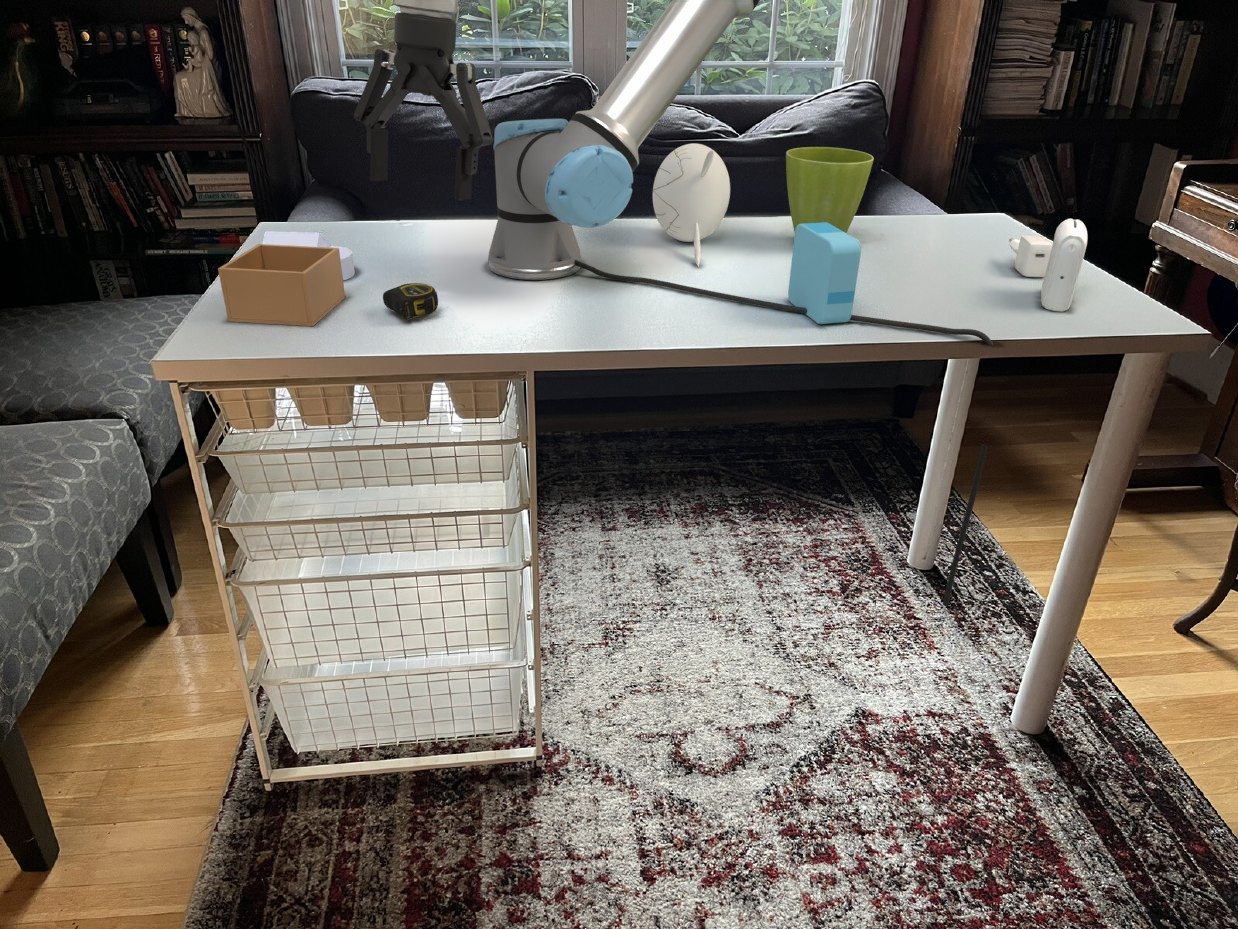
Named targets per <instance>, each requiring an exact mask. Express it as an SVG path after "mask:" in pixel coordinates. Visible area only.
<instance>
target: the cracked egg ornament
mask: <svg viewBox="0 0 1238 929" xmlns="http://www.w3.org/2000/svg"><path fill="white" fill-rule="evenodd" d="M730 181H731V180H730V176H729V172H728V169H727V167H726V164H725V162H724V161H723V159H722V157H721V156H720V155H719V154H718V153H717V152H716V151H715V150H714V149H712V148H711V147H709V146H707V145H705V144H702V143H686V144H683V145H681V146H678V147H677V148H675V149H674V150H672V151H671V152H669V154H668V155H666V157H665V158H664V160H663V161H662V162H661V164H660V166H659V168H658V169H657V172H656V175H655V177H654V181H653V186H652V204H653V205H652V207H653V212H654V215H655V217H656V219H657V223H658V224H659V226H660V227H661V228H662V230H663V231H664V232H665V233H666V234H667V235H668V236H670V237H672V238H673V239H675V240H677V241H680V242H684V243H693V244H694V245H693V254H694V260H695V264H696V266H697V267H698V268H699V266H700V264H701V256H702V255H701V254H702V252H701V250H702V249H701V240H704V239H705V238H707V237H709V236H710V235H711V234H712V233H714V232H715V230H716V229H717V228H718V227H719V226H720V224H721V223H722V221H723V219H724V217H725V215H726V214H727V211H728V207H729V204H730V197H731V182H730Z"/></svg>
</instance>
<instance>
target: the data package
mask: <svg viewBox="0 0 1238 929" xmlns="http://www.w3.org/2000/svg"><path fill="white" fill-rule="evenodd" d="M792 245H793V246H792V256H791V262H790V264H791V265H790V272H789V281H788V289H787V290H788V291H787V292H788V293H787V294H788V295H787V296H788V300H789V301H790V303H791V304H792V306H797V307H803V308H806V309H807V313H806V314H805V315H806V316H807V317H809V318H810V319H811V320H813V321H814V322H815V323H816V324H818V325H827V324H840V323H841V324H842V323H848V322H849V321H851V320H850V318H851V315H853V308H854V301H855V295H856V287H857V280H858V274H859V268H860V261H861V256H862V255H861V254H862V247H861V243H860V241H859V240H858V239H857V238H856V237H854V236H852V235H850V234H849V233H848V232H847V233H845V232H843V231H841V230H840V229H838V228H836V227H834V226H833V225H831V224H829V223H827V222H823V223H805V224H799V225H798V226H797V227H796V230H795V233H794V237H793V244H792Z"/></svg>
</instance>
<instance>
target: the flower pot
mask: <svg viewBox="0 0 1238 929" xmlns="http://www.w3.org/2000/svg"><path fill="white" fill-rule="evenodd" d="M874 158H875V157H874V156H873V155H872V154H869V153H867V152H864V151H860V150H854V149H849V148H843V147H842V148H841V147H829V146H805V147H796V148H795V147H794V148H791V149H788V150H787V151H785V164H786V166H785V168H786V170H785V171H786V188H787V198H788V206H789V211H790V217H791V222H792V227H793V228H792V229H793V231H794V234H795V230H796V227H797V226H798V225H799V224H805V223H823V222H827V223H829V224H831V225H833V226H834V227H836V228H838V229H840V230H841V231H843V232H845V233H847V234H848V231H849V228H850V227H851V224H852V223H853V221H854V218H855V216H856V213H857V211H858V209H859V206H860V203H861V201H862V199H863V196H864V193H865V191H866V190H865V189H866V186H867V183H868V180H869V178H870V174H871V172H872V171H871V170H872V167H873V164H874V160H875V159H874Z"/></svg>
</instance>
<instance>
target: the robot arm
mask: <svg viewBox="0 0 1238 929" xmlns="http://www.w3.org/2000/svg"><path fill="white" fill-rule="evenodd" d="M761 1H762V0H671V1H670V3H669V4H668V6H667V7H666V8H665V10H664V11H663V12H662V14H661V15H660V17H658V19H657V20H656V22H655V23H654V24H653V26H652V27H651V28H650V30H649V31H648V33H647V34H646V36H644V38H643V39H642V41H641V42H640V44H639V45H638V46H637V48H636V49H635V50H634V51H633V53H632V54H631V56H629V59H628V60H627V61H626V62H625V64H624V65H623V66H622V67H621V69H620V71H619V72H618V73H617V74H616V76H615V77H614V79H613V80H611V83H610V84H609V86H608V87H607V88H606V90H605V91H604V92H603V94H602V95H601V96H600V98H599V99H598V100H597V102H596V103H595V104H594V105H593V107H592V108H591V109H587V110H578V111H576V112H575V113H574V114H573V116H572V117H571V119H570V120H569V121H568V120H567V119H565V118H540V119H539V118H537V119H522V120H511V121H509V120H508V121H503V122H500V123H498V124H497V125H496V127H495V129H494V137H493V134H492V130H491V127H490V123H489V120H488V118H487V114H486V112H485V108H484V105H483V101H482V98H481V96H480V93H479V89H478V85H477V82H476V81H477V79H476V78H477V77H476V66H475V64H474V63H472V62H458V63H455V62H454V52H455V50H456V43H457V23H456V20H455V19H452V18H453V15H455V16H456V14H458V7H459V6H458V4H459V0H395V1H394V5H395V6H396V7H398V8H399V12H398V11H397V12H395V13H396V14H394V28H393V29H394V32H393V37H394V38H393V41H394V43H395V44H396V51H395V52H394V51H393V50H392V49H383V48H381V49H380V48H377V49H376V50H375V51H374V56H373V65H372V69H371V71H370V73H369V77H368V79H367V82H366V84H365V86H364V89H363V91H362V93H361V95H360V98H359V100H358V103H357V106H356V107H355V110H354V113H353V119H354V120H355V121H356V122H359V123H361V124H363V125H364V126H365V128H366V152H367V154H370V155H369V157H370V158H369V159H370V163H369V165H370V166H369V181H370V182H382V181H388V173H389V171H388V170H389V169H388V168H389V166H388V165H389V130H388V129H385V128H387V126H386V125H385V124H386V123H387V122H388V121H389V119H390V118H391V117H392V116H393V115H394V113H395V111H397V109H398V108H399V107H400V105H401V104H402V102H404V100H405V99H406V98H407V96H408V95H409V94H411V93H412V94H421V95H423V96H426V97H433V98H434V99H435V101H436V102H438V103H439V105H440V107H441V108H442V110H443V112H444V114H445V116H446V117H447V120H448V121H449V123H450V125H451V127H452V129H453V130H454V132H455V134H456V136H457V137H458V140H459V141H460V143H461V145H460V146H459V147H456V153H455V154H456V156H455V158H456V159H455V175H454V194H453V195H454V196H453V200H454V201H458V202H459V201H460V202H461V201H466V200H467V201H468V200H471V199H472V185H473V184H472V183H473V175H477V172H478V165H479V163H478V162H479V151H480V148H483V147H486V146H491V145H492V146H493V148H492V149H493V152H494V153H493V154H494V171H495V190H496V191H495V192H496V207H497V208H496V209H497V221H496V226H495V229H494V232H493V237H492V240H491V244H490V248H489V251H488V256H487V257H488V258H487V259H488V269H489V270H490V271H491V272H493V273H494V274H496V275H497V276H498V275H499V276H501V277H505V278H509V279H516V280H526V281H541V280H553V279H560V278H564V277H567V276H571V275H574V274H575V273H577V272H578V271H580V270H581V268H582V269H583V270H586V271H588V272H591V273H592V274H594V275H597V276H599V277H602V278H606V279H609V280H614V281H620V282H630V283H641V284H648V285H654V286H659V287H663V288H668V289H674V290H676V291H677V290H678V291H683V292H687V293H692V294H696V295H701V296H708V297H711V298H717V299H722V300H726V301H730V302H731V301H732V302H737V303H744V304H747V305H752V306H759V307H763V308H764V307H765V308H771V309H776V310H781V311H788V312H794V313H800V314H804V315H806V313H807V309H806V308H803V307H797V306H795V305H791V304H790V305H789V304H784V303H778V302H773V301H772V302H771V301H766V300H762V299H755V298H750V297H745V296H739V295H734V294H728V293H723V292H718V291H712V290H708V289H704V288H699V287H693V286H688V285H684V284H678V283H674V282H670V281H664V280H659V279H654V278H648V277H641V276H631V275H630V276H629V275H622V274H621V275H620V274H614V273H610V272H606V271H602V270H601V269H598V268H596V267H595V266H592V265H589V264H587V263H584V262H582V254H581V250H580V246H579V244H578V241H577V237H576V235H575V231H574V228H573V226H574V227H575V226H576V227H579V228H584V229H594V228H600V227H602V226H605V225H607V224H609V223H611V222H612V221H614V220H615V219H617V218H618V217H619V216H620V215H621V213H622V212H624V210H625V209H626V207H627V205H628V204H629V202H630V200H631V197H632V193H633V188H632V184H633V183H634V174H633V173H634V172H635V171H636V169H637V168H638V166H639V165H640V159H639V147H640V146H642V143H643V142H644V141H645V140H646V138H647V137H648V135H649V134H650V132H652V130H653V128H655V126H656V124H657V123H658V122H659V120H661V118H662V117H663V115H664V114H665V112H667V110H668V108H669V107H670V105H671V104H672V103H673V102H674V101H675V99H676V97H677V96H678V95H679V94H680V92H682V90H683V88H684V87H685V85H686V84H687V83H688V81H689V80H690V79H691V77H692V76H693V75H694V73H695V72H696V70H697V69H698V68H699V66H700V65H701V64H702V62H703V61H704V60H705V58H706V57H707V56H708V54H709V53H710V52H711V50H712V49H713V47H714V46H715V45H716V44H717V42H718V41H719V40H720V38H721V37H722V36H723V34H724V33H725V32H726V30H727V29H728V27H729V26H730V25H731V23H732V22H733V20H734V19H739V18H740V19H741V18H747V17H749V16H750V15H751V14H752V13H753V12H754V10H755V8H756V7H757V6H758V5H759V3H760V2H761ZM394 68H395V69H396V71H397V73H396V75H395V77H394V78H393V79H392V80H391V82H390V83H389V81H390V79H391V77H392V74H393V70H394ZM452 78H453V79H454V80H455V81H456V86H457V90H458V92H459V93H457V91H456V89H455V88H454V87H455V86H454V85H453V83H452V81H451V80H452ZM388 84H389V88H388V89H387V91H386V88H387V86H388ZM385 91H386V92H385ZM458 94H459V96H460V99H461V102H460V101H459V99H458V97H457V96H458ZM461 103H462V104H461ZM849 321H852V322H859V323H866V324H867V323H868V324H875V325H880V326H881V325H882V326H889V327H896V328H903V329H911V330H918V331H919V330H920V331H926V332H935V333H940V334H946V335H953V336H954V335H955V336H956V335H957V336H973V337H976V338H979V339H980V340H982V341H983V342H984V344H985V345H987V346H994V342H993V341H992V339H991V338H990V337H989V336H988V335H987V334H986V333H984V332H983V331H980V330H977V329H974V328H973V329H972V328H952V327H945V326H940V325H939V326H937V325H931V324H924V323H917V322H916V323H915V322H907V321H900V320H892V319H885V318H879V317H878V318H877V317H870V316H863V315H855V314H852V315H851V318H850V320H849ZM980 445H981V446H980V451H979V456H978V460H977V465H976V469H975V474H974V477H973V481H972V486H971V491H970V493H969V498H968V501H967V506H966V509H965V513H964V516H963V520H962V523H961V528H960V531H959V535H958V540H957V544H956V547H955V551H954V554H953V559H952V562H951V567H950V571H949V574H948V580H947V584H946V589H945V592H944V597H943V601H942V605H943V606H944V607H948V606H949V604H950V600H951V596H952V591H953V586H954V582H955V578H956V574H957V568H958V566H959V561H960V557H961V553H962V550H963V547H964V542H965V538H966V534H967V531H968V528H969V523H970V520H971V516H972V512H973V508H974V504H975V501H976V498H977V493H978V489H979V486H980V482H981V477H982V473H983V470H984V465H985V460H986V455H987V451H988V446H989V445H988V444H985V443H981V444H980Z"/></svg>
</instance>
